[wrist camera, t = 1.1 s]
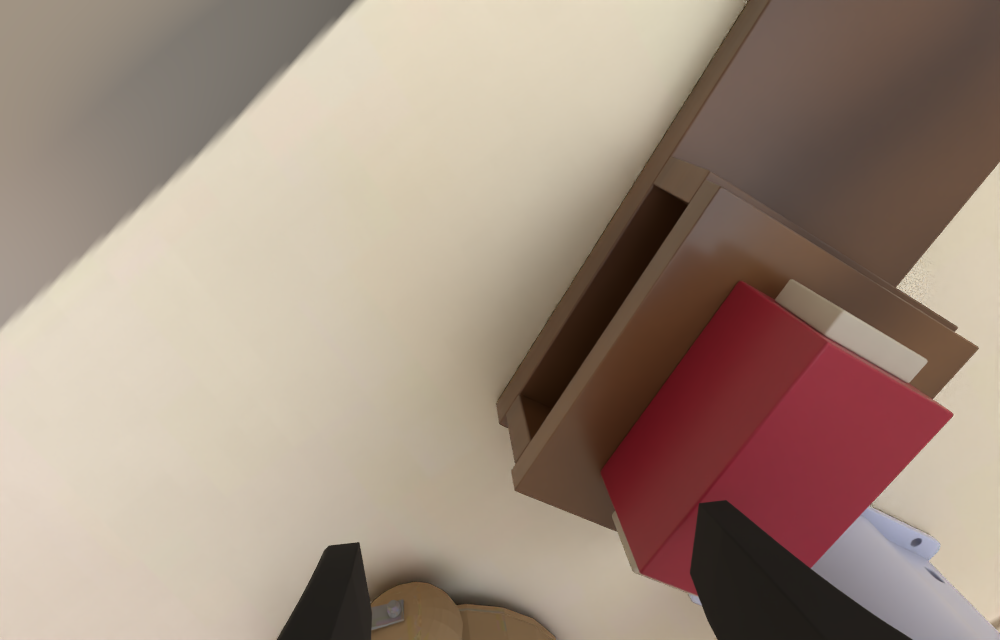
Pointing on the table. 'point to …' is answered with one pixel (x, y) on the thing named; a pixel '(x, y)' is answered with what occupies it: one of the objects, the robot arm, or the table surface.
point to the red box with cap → (769, 430)
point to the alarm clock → (445, 618)
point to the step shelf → (768, 215)
